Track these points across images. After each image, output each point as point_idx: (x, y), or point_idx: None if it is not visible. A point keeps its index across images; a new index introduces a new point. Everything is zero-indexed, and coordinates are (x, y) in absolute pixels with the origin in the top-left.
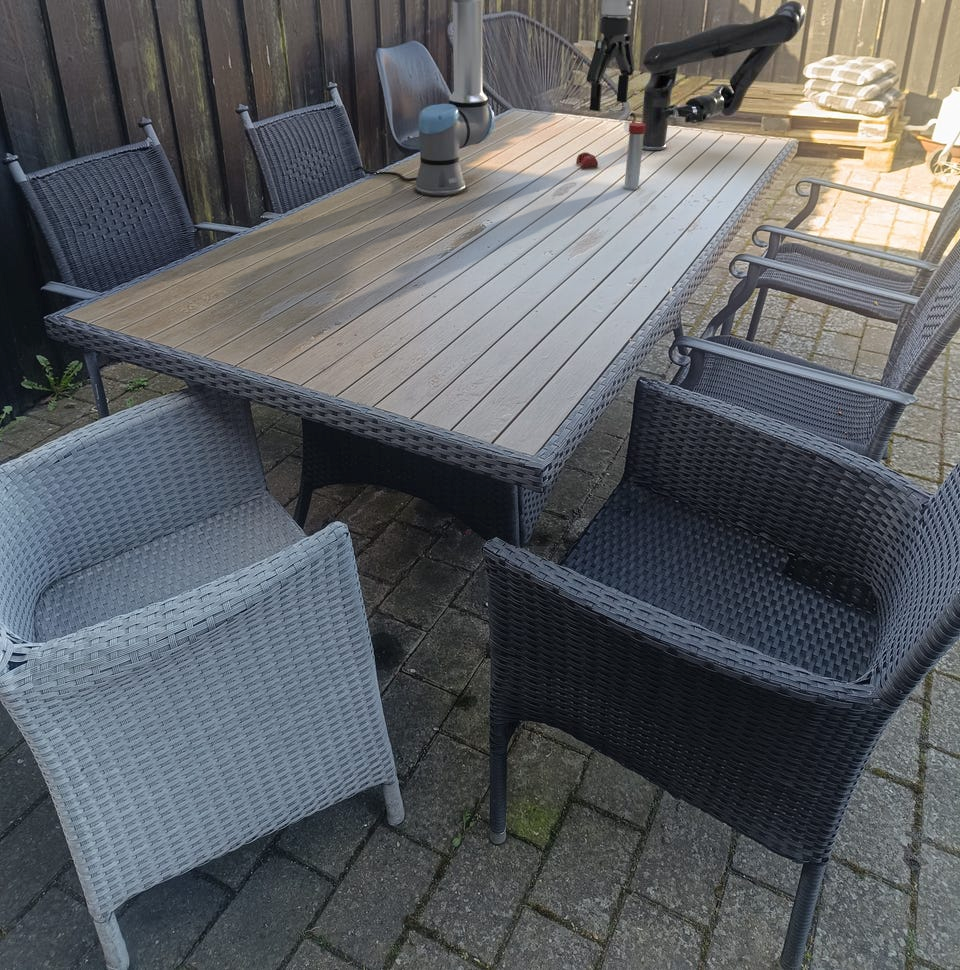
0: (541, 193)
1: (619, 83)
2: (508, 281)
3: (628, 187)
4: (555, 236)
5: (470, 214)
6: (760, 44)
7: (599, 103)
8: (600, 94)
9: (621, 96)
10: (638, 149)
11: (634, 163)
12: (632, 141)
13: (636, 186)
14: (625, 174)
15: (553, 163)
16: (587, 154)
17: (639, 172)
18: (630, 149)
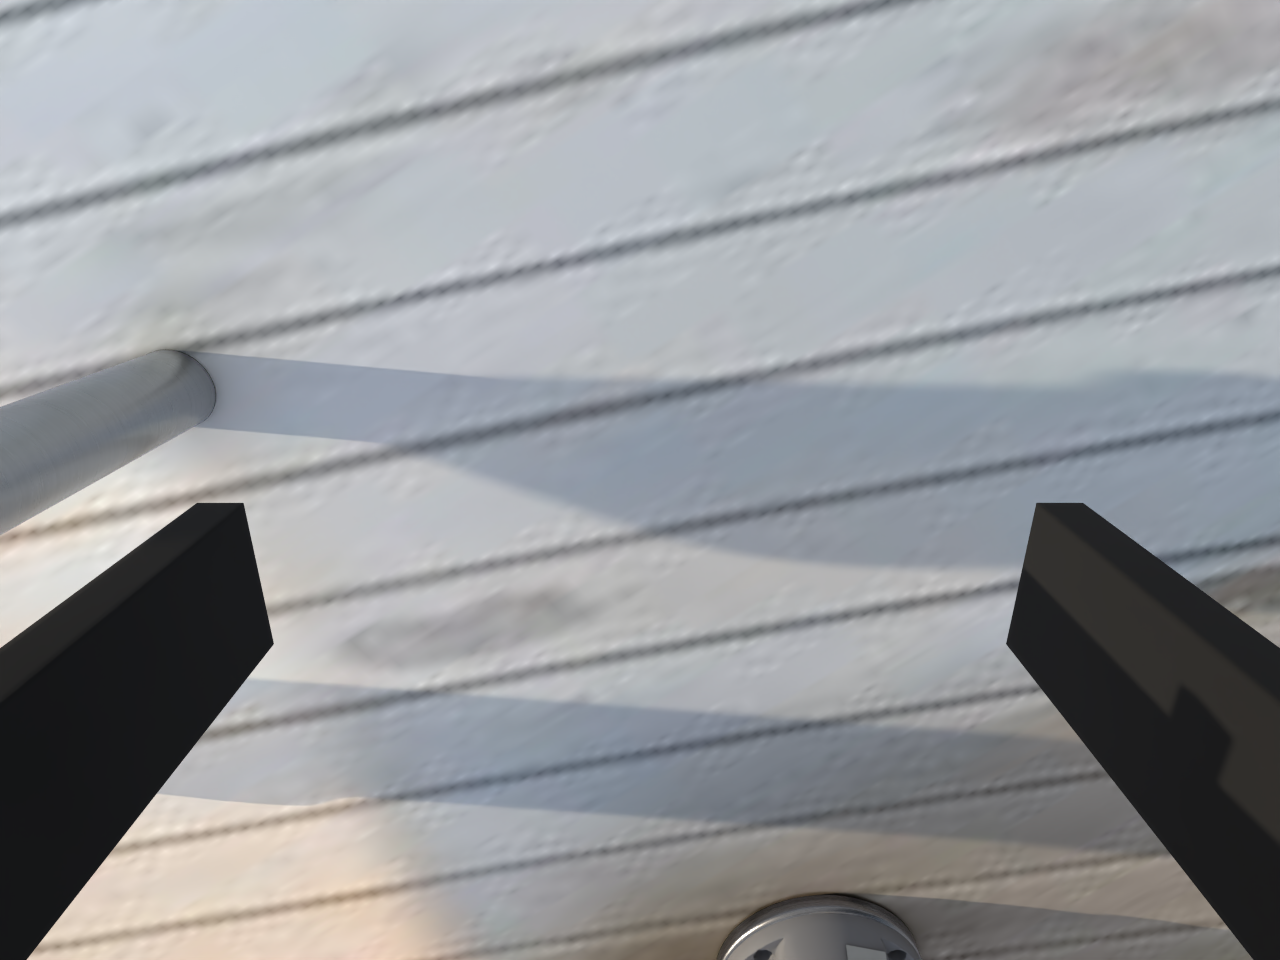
0: (592, 673)
1: (92, 836)
2: None
3: (207, 387)
4: (1153, 259)
5: (1039, 728)
6: None
7: (1137, 556)
8: (1234, 646)
9: (216, 619)
10: (16, 424)
11: (105, 407)
12: (11, 489)
13: (164, 354)
14: (161, 444)
15: (176, 864)
16: None
17: (94, 373)
18: (60, 476)
